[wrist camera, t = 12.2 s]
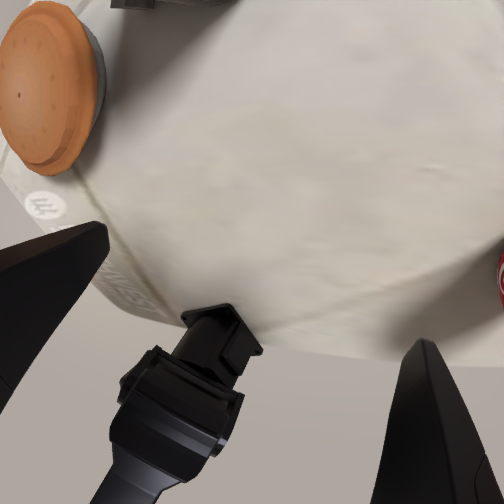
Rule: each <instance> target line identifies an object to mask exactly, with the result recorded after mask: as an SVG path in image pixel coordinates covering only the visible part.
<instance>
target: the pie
mask: <svg viewBox="0 0 504 504" xmlns="http://www.w3.org/2000/svg"><path fill="white" fill-rule="evenodd" d="M105 84H106V70H105V64H104V58H103V53H102V51H101V48H100V46H99V43H98V41H97V39H96V37H95V36H94V35H93V33H92V32H91V31H90V30H89V29H88V27H87V26H85V25H84V24H83V23H82V22H81V21H80V20H79V19H78V18H77V17H76V16H75V14H74V13H73V12H72V11H71V9H70V8H69V7H68V6H66V5H62V4H59V3H56V2H52V1H37V2H35V3H34V4H32V5H31V6H29V7H28V8H26V9H25V10H23V11H22V12H21V13H20V14H19V16H18V17H17V18H16V19H15V21H14V22H13V23H12V24H11V26H10V28H9V30H8V31H7V33H6V35H5V37H4V39H3V41H2V44H1V47H0V128H1V130H2V133H3V135H4V137H5V139H6V140H7V142H8V144H9V145H10V147H11V148H12V150H13V151H14V152H15V153H16V154H17V155H18V156H19V157H20V159H21V160H22V161H23V163H24V164H25V165H26V166H27V168H29V169H30V170H32V171H34V172H36V173H38V174H40V175H47V176H55V175H57V174H59V173H62V172H64V171H66V170H68V169H69V168H70V167H71V165H72V164H73V163H74V161H75V160H76V159H77V157H78V156H79V155H80V153H81V151H82V149H83V147H84V145H85V143H86V140H87V138H88V136H89V134H90V131H91V129H92V127H93V126H94V124H95V122H96V119H97V117H98V115H99V113H100V111H101V108H102V104H103V99H104V95H105Z"/></svg>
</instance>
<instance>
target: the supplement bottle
mask: <svg viewBox="0 0 504 504" xmlns="http://www.w3.org/2000/svg"><path fill="white" fill-rule="evenodd" d="M158 1H166V2H173V3H180V4H187V5H194V6H212V5H217V4H221V3H224V2H227V1H229V0H158Z"/></svg>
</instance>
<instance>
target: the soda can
mask: <svg viewBox="0 0 504 504" xmlns="http://www.w3.org/2000/svg"><path fill="white" fill-rule="evenodd" d="M497 284H498V288H499V293H500V297H501V301H502V305H503V308H504V252H503V254H502V256H501V258H500V261H499V264H498V268H497Z"/></svg>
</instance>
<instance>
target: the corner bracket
mask: <svg viewBox="0 0 504 504" xmlns="http://www.w3.org/2000/svg"><path fill="white" fill-rule="evenodd" d="M153 7H154V0H111V6H110V8H120V9H138V10H141V9H153Z"/></svg>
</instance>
